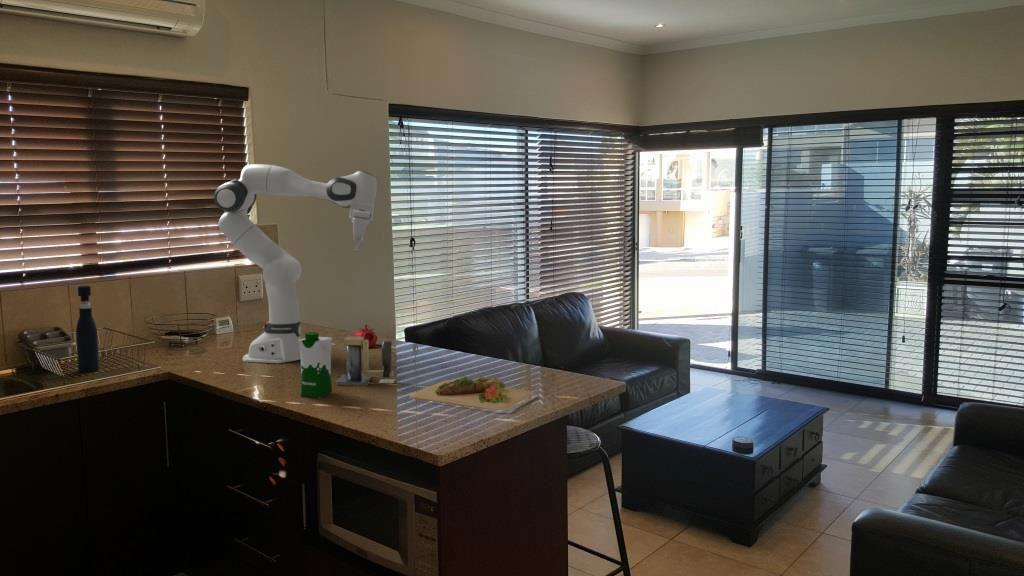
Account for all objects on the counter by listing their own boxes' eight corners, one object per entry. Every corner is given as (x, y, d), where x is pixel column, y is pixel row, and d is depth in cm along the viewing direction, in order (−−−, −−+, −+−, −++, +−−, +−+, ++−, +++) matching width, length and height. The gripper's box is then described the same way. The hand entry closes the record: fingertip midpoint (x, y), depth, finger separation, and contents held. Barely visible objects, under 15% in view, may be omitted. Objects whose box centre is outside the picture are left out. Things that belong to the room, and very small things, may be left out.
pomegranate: (348, 347, 310) (348, 325, 309) (360, 343, 319) (360, 322, 318) (370, 349, 307) (370, 327, 306) (381, 345, 316) (381, 323, 315)
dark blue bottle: (103, 369, 266) (98, 286, 262) (86, 373, 260) (81, 288, 257) (91, 367, 269) (86, 284, 265) (74, 371, 263) (69, 286, 259)
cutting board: (539, 398, 239) (540, 375, 238) (507, 416, 218) (507, 391, 218) (445, 384, 254) (445, 363, 254) (407, 401, 234) (406, 377, 233)
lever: (344, 378, 251) (343, 339, 249) (347, 374, 256) (347, 336, 255) (391, 378, 251) (391, 340, 250) (393, 374, 257) (393, 336, 255)
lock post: (336, 385, 249) (336, 347, 247) (347, 372, 267) (346, 336, 265) (392, 385, 249) (392, 347, 248) (398, 372, 268) (398, 337, 266)
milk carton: (296, 396, 235) (295, 333, 232) (313, 389, 243) (312, 329, 241) (320, 399, 232) (319, 335, 230) (336, 392, 240) (335, 330, 238)
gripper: (352, 216, 289) (348, 252, 288) (352, 210, 269) (347, 248, 268) (369, 219, 290) (364, 254, 290) (370, 213, 270) (365, 251, 270)
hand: (356, 251), depth 279 cm, fingers open, 8 cm apart
